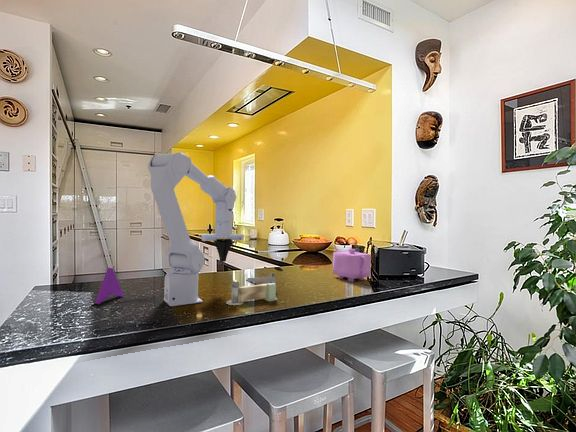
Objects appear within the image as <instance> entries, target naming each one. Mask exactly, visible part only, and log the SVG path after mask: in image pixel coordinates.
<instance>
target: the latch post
mask: <svg viewBox="0 0 576 432" xmlns="http://www.w3.org/2000/svg"><path fill="white" fill-rule="evenodd" d="M276 293H277V283H276V284H275V283H271V284H267V298H264V300H265V301H267V302H274V301H277V300H278V298H277V295H276Z"/></svg>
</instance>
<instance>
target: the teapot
mask: <svg viewBox="0 0 576 432" xmlns="http://www.w3.org/2000/svg"><path fill="white" fill-rule="evenodd" d="M332 259H333V261H332V262H333V263H332V275H337V276H338V277H337V278H338V279H339V280H340V279H345V278H347V281H348V282H355V279H358V281H365V278H370V277H371V272H372V270H371V269H372V255H371V253H366V252H365V253H364V252H359V251H356V248H349V249H348V250H347V251H346V250H345V251H340V250H338V249H335V248H334V249H333V258H332Z"/></svg>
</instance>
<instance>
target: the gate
mask: <svg viewBox="0 0 576 432" xmlns="http://www.w3.org/2000/svg"><path fill="white" fill-rule="evenodd" d="M267 284H271V283H266V284H264V283H261V284H251V285H244V286H239V292H238V300H239V301H243V302H248V301H252V300H253V301H254V300H260V299H265V298H267Z"/></svg>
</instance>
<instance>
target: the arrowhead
mask: <svg viewBox="0 0 576 432" xmlns="http://www.w3.org/2000/svg"><path fill="white" fill-rule="evenodd" d="M111 295H113V296H116V297H120V298H124V297H125V296H124V293H123V290H122V288H121V285H120V282H119V281H118V278H117V275H116V273H115V270H114V268H113V267H108V268H107V269H106V272H105V275H104V277H103V280H102V283H101V286H100V287H99V291H98V293H97V296H96V299H95V301H94V304H98V305H100V304H101V303H103V302H104V301H106V299H107V298H109V297H110V296H111Z"/></svg>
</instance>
